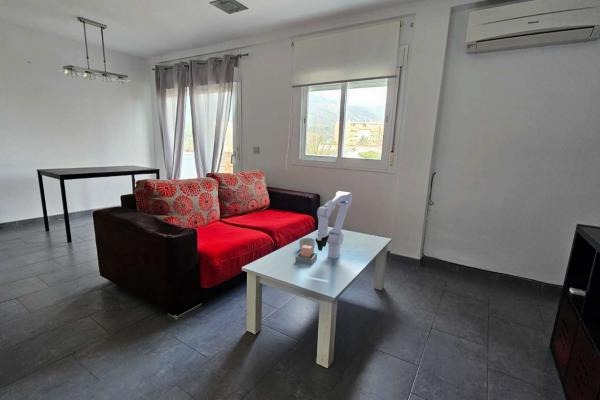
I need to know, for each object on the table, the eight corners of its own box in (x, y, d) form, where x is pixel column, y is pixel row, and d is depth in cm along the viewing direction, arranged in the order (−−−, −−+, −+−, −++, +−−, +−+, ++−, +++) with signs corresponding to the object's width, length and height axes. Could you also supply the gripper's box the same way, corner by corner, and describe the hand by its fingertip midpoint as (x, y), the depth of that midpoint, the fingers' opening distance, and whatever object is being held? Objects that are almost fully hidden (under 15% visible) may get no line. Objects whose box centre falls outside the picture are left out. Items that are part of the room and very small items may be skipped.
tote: (301, 257, 183) (301, 250, 182) (316, 259, 179) (317, 253, 178) (295, 263, 173) (295, 256, 172) (311, 266, 169) (311, 259, 168)
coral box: (303, 252, 178) (303, 244, 177) (312, 253, 176) (312, 246, 175) (301, 254, 174) (301, 247, 173) (310, 256, 172) (310, 248, 171)
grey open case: (311, 254, 187) (312, 243, 186) (296, 252, 191) (296, 241, 189) (317, 247, 200) (317, 237, 199) (303, 245, 204) (303, 235, 202)
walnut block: (303, 257, 180) (303, 252, 179) (312, 259, 177) (312, 253, 177) (300, 261, 174) (300, 255, 173) (309, 263, 172) (309, 256, 171)
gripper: (320, 223, 176) (319, 243, 178) (312, 228, 162) (311, 251, 165) (331, 224, 173) (329, 245, 176) (324, 230, 160) (323, 253, 162)
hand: (321, 248), depth 170 cm, fingers open, 7 cm apart
